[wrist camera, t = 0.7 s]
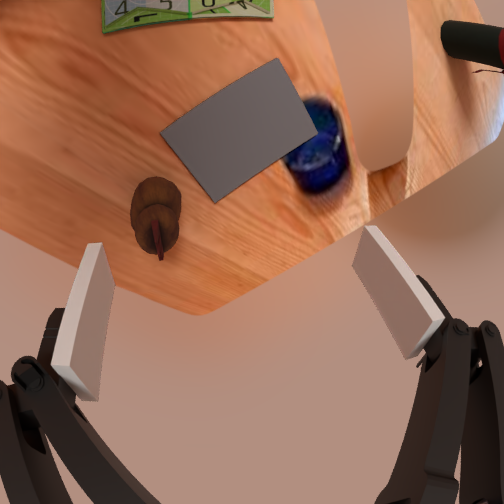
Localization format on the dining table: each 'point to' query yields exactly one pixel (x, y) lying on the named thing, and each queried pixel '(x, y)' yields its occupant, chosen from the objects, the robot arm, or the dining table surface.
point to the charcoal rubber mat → (241, 129)
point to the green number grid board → (178, 11)
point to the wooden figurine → (156, 215)
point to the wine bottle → (474, 43)
